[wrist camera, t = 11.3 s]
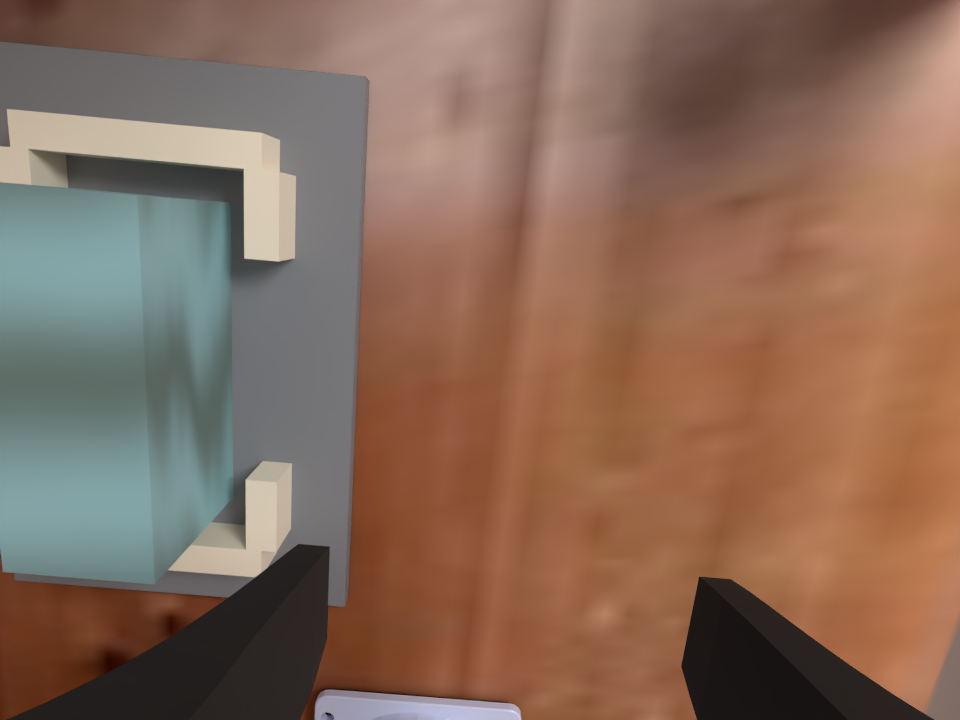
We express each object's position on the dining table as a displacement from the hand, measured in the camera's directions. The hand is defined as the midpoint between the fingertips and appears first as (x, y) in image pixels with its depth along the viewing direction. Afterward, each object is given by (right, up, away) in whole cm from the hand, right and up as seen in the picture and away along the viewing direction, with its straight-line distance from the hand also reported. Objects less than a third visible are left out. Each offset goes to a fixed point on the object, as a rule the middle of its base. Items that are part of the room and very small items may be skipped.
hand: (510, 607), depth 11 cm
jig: (-11, +5, +9) cm, 15 cm away
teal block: (-11, +5, +8) cm, 14 cm away
